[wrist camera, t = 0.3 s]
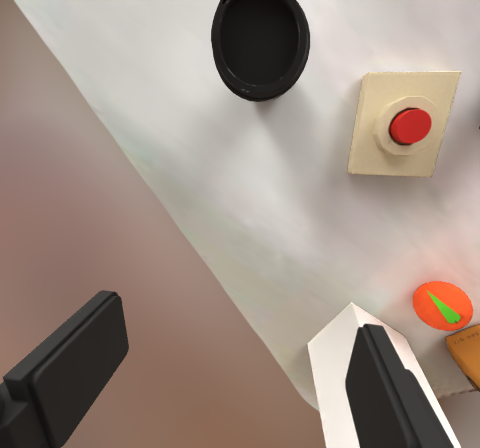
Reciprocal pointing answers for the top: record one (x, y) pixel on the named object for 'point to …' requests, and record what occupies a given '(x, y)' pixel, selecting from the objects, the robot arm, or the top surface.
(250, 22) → the coffee cup
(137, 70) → the top surface
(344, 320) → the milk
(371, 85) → the control box
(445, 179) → the top surface
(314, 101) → the top surface
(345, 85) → the top surface
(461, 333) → the coffee package
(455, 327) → the clementine
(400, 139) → the button
